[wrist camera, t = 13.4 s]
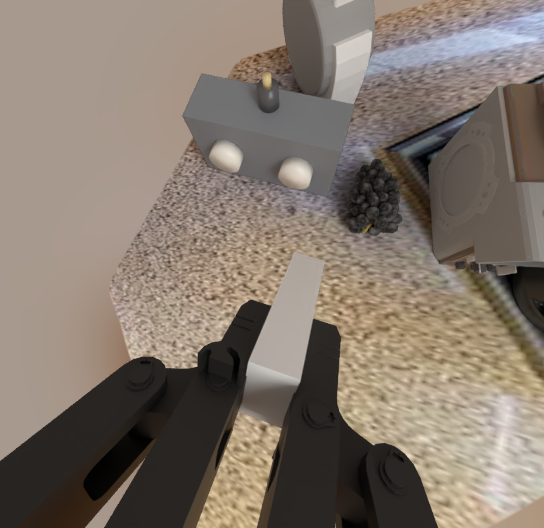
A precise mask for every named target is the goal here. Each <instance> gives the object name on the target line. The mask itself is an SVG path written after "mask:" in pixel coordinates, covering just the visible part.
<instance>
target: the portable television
mask: <svg viewBox="0 0 544 528" xmlns="http://www.w3.org/2000/svg"><path fill="white" fill-rule="evenodd" d="M428 170H429V187H430V204H431V221H432V238H433V253H434V256H435V257H436V259H438V260H439V264H447V265H455V266H456V269H464V268H465V266H471V269H472V270H474V272H476V273H479V274H481V273H482V272H486V267H487V270H488V271H497V275H506V274H511V273H516V272H517V270H516V266H528V267H544V82H542V83H540V84H509V85H507V86H497V87H496V88H495V89H494V90H493V92H492V93H491V94H490V95H489V96H488V97H487V99H486V100H485V101H484V102H483V103H482V104H481V105H480V107H479V108H478V109H477V110H476V111H475V112H474V114H473V115H472V116H471V117H470V118H469V119H468V120H467V122H466V123H465V124H464V125H463V126H462V127H461V129H460V130H459V131H458V132H457V133H456V134H455V135H454V137H453V138H452V139H451V140H450V141H449V142H448V143H447V145H446V146H445V147H444V148H443V149H442V150H441V152H440V153H439V154H438V155H437V156H436V157H435V158H434V160H433V161H432V162H431V163H430V164H429V165H428Z"/></svg>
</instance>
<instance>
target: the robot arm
mask: <svg viewBox="0 0 544 528" xmlns="http://www.w3.org/2000/svg"><path fill="white" fill-rule="evenodd" d="M324 262H325V261H324V260H320V259H317V258H313V257H310V256H306V255H303V254H299V253H296V252H294V255H293V257H292V259H291V262H290V264H289V267H288V269H287V271H286V274H285V276H284V278H283V281H282V283H281V285H280V288H279V290H278V293H277V295H276V297H275V300H274V302H273V304H272V306H269V305H266V304H263V303H260V302H257V301H254V300H249V301H248V302H246V303H245V304H243V305H242V306H241V307H240V309H239V311H238V312H237V314H236V317H235V318H234V319H233V321H232V323H231V325H230V326H229V328H228V330H227V332H226V333H225V335H224V337H223V339H222V340H221V341H218V342H212V343H210V344H208V345H206V346H204V347H203V348H202V349H201V350H200V351H199V352H198V367H194V368H189V369H175V368H165V365H164V364H163V363H162V362H161V360H159V359H156V358H154V357H140V358H136V359H133V360H131V361H129V362H128V363H126V364H124V365H123V366H122V367H120V368H119V369H118V370H117V371H115V372H114V373H113V374H111V375H110V376H109V377H108V378H106V379H105V380H104V381H102V382H101V383H100V384H99V385H97V386H96V387H95V388H93V389H92V390H91V391H90V392H88V393H87V394H86V395H84V396H83V397H82V398H81V399H79V400H78V401H77V402H75V403H74V404H73V405H72V406H70V407H69V408H68V409H66V410H65V411H64V412H63V413H61V414H60V415H59V416H58V417H56V418H55V419H54V420H52V421H51V422H50V423H49V424H47V425H46V426H45V427H43V428H42V429H41V430H40V431H38V432H37V433H36V434H34V435H33V436H32V437H31V438H29V439H28V440H27V441H26V442H24V443H23V444H21V446H19V447H18V448H16V449H15V450H14V451H13V452H11V453H10V454H9V455H7V456H6V457H5V458H4V459H2V460H1V461H0V528H85V527H86V526H87V525H88V523H89V522H90V521H91V520H92V519H93V518H94V516H95V515H96V514H97V513H98V512H99V510H101V508H102V507H103V506H104V505H105V504H106V503H107V501H108V500H109V499H110V498H111V497H112V496H113V494H114V493H115V492H116V491H117V490H118V488H120V486H121V485H122V484H123V483H124V482H125V481H126V479H127V478H128V477H129V476H130V475H131V474H132V473H133V471H134V470H135V469H136V468H137V467H138V466H139V464H140V463H141V462H142V461H143V460H144V459H145V460H144V462H143V464H142V465H141V467H140V468H139V470H138V472H137V474H136V475H135V477H134V479H133V480H132V482H131V484H130V485H129V487H128V489H127V490H126V492H125V494H124V495H123V497H122V499H121V501H120V502H119V504H118V506H117V507H116V509H115V510H114V512H113V514H112V516H111V517H110V519H109V521H108V522H107V524H106V526H105V527H104V528H196V526H197V523H198V521H199V518H200V515H201V513H202V510H203V507H204V505H205V502H206V499H207V497H208V494H209V492H210V489H211V486H212V484H213V481H214V478H215V476H216V473H217V470H218V468H219V465H220V462H221V460H222V457H223V455H224V452H225V449H226V447H227V444H228V441H229V439H230V436H231V433H232V431H233V425H234V421H235V419H236V416H237V414H238V411H239V412H241V413H244V414H246V415H249V416H251V417H254V418H257V419H259V420H262V421H264V422H267V423H269V424H272V425H275V426H277V427H280V428H282V430H281V434H280V438H279V442H278V444H277V447H276V449H275V452H274V454H273V456H272V459H273V462H272V467H271V471H270V475H269V479H268V483H267V488H266V492H265V496H264V500H263V504H262V509H261V513H260V517H259V521H258V525H257V528H335V523H336V528H438V526H437V523H436V521H435V518H434V515H433V512H432V509H431V506H430V504H429V501H428V498H427V495H426V492H425V490H424V487H423V484H422V481H421V478H420V476H419V474H418V472H417V470H416V468H415V466H414V464H413V463H412V462H411V461H410V459H409V458H408V457H407V456H406V455H405V454H404V453H403V452H402V451H400V450H399V449H398V448H396V447H395V446H392V445H389V444H386V443H380V444H375V445H372V444H371V443H370V442H368V441H367V440H366V439H364V438H363V437H362V436H360V435H359V434H358V433H356V432H355V431H354V430H353V429H352V428H351V427H349V426H348V424H347V423H346V422H345V420H344V419H343V417H342V416H341V414H340V412H339V408H338V405H337V388H338V373H339V358H340V343H341V337H340V334H339V332H338V329H337V327H336V326H334V325H331V324H328V323H325V322H322V321H319V320H316V319H313V317H314V312H315V307H316V302H317V297H318V292H319V287H320V282H321V277H322V272H323V267H324ZM516 270H517V272H516V273H514V274H513V281H512V285H513V292H514V296H515V299H516V302H517V304H518V306H519V308H520V309H521V311H522V312H523V314H524V315H525V316H526V317H527V318H528V320H529V321H530V322H532V323H533V324H534V325H535V326H536V327H538V328H539V329H540V330H542V331H544V267H528V266H516ZM146 456H147V457H146Z"/></svg>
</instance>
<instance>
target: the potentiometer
mask: <svg viewBox="0 0 544 528" xmlns="http://www.w3.org/2000/svg"><path fill="white" fill-rule="evenodd" d="M257 95H258V102H259V108H260V110H261V111H262V112H264V113H273V112H275V111H276V110H277V109H278V108H279V85H278V82H277V81H276V80H275V79H273V78H271V74H270V73H269V72H264V73H263V74H262V79H261V80H260V81H259V82H258V84H257Z"/></svg>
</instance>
